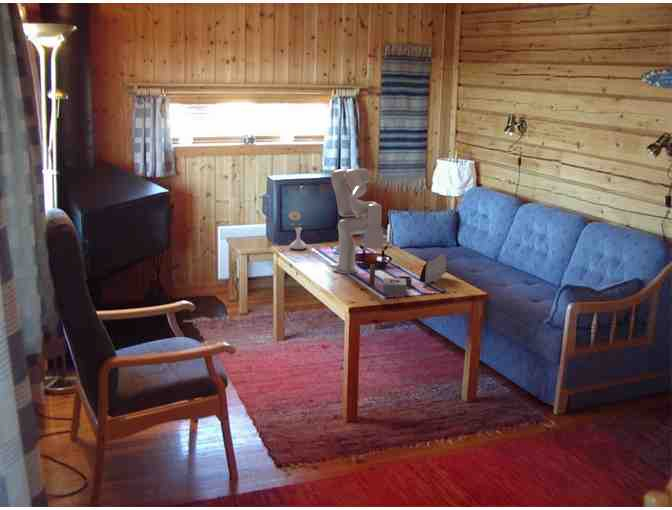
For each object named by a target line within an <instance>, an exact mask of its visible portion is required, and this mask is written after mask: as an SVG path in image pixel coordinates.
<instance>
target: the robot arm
mask: <svg viewBox="0 0 672 510" xmlns="http://www.w3.org/2000/svg"><path fill="white" fill-rule="evenodd" d="M330 179H331V185H332V188H333V191H334V193H335V199H336V205H337V211H338V214H339V216H341V217H346V218H342V219H340V220H339V221H338V223H337V230H338V237H339V238H338V263H331V264H330V267H331V268H333V269H335V271H336V272H337V273H339V274H347V275H348V274H351V273H352V274H356V273H357V272H358V269H357V268H356V267H355V266H356V240H355V239H354V237H353V235H362V234H364V238H363V239H362V240H359V241H358V242H357V244H358V247H359V248H360V250H362V256H363V258H364V259H366V249H367V248H368V249H380V250H381V259H384V257H385V251H386V250H388V247H389V246H390V242H389V241H387V240H386V239H384V231H383V229H382V214H383V213H382V211H383V210H382V205H381V204H380V203H377V202H376V201H363V200H361V199H358V198H360V197H362V196H364V195H365V194H366V192H367V190H368V189H367V186H366V184H368V183H369V182H370V180H371V173H370V171H369V170H368V169H367V168H365V167H364V168H344V169H343V168H342V169H336V170H334V171H333V172H332V173H331V178H330ZM346 185H348V187H349V188H348V187H347V186H346ZM349 189H350V190H349ZM362 244H363V245H364V246H363V245H362ZM384 244H385V245H384ZM355 272H356V273H355ZM352 274H351V275H352Z"/></svg>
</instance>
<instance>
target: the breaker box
mask: <svg viewBox="0 0 672 510" xmlns="http://www.w3.org/2000/svg"><path fill="white" fill-rule="evenodd" d="M382 280H383V281H382V295H383V294H389V295H388V296H407V288H406V279H402V278H398V277H383V278H382ZM392 281H398V283H397V282H392Z"/></svg>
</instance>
